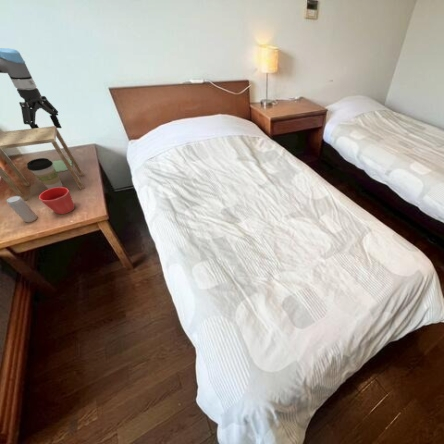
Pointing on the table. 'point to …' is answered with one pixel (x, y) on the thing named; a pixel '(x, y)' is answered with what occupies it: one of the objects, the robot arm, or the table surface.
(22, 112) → the robot arm
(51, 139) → the wooden frame stand
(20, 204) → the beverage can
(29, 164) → the coffee cup
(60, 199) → the flower pot
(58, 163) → the felt mat
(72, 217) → the table surface
